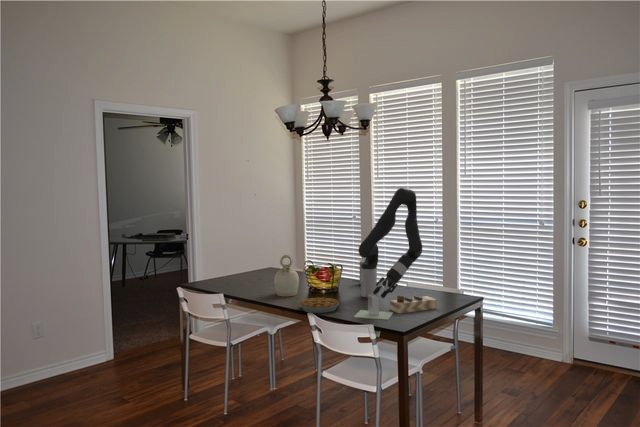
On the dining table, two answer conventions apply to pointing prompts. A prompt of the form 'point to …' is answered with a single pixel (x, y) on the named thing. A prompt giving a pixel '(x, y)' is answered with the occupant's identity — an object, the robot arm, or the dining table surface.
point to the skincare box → (361, 271)
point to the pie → (319, 305)
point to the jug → (286, 279)
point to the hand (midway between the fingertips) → (377, 295)
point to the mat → (381, 315)
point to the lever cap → (373, 304)
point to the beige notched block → (412, 304)
